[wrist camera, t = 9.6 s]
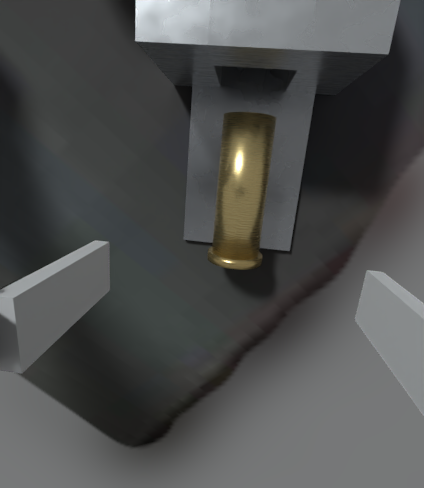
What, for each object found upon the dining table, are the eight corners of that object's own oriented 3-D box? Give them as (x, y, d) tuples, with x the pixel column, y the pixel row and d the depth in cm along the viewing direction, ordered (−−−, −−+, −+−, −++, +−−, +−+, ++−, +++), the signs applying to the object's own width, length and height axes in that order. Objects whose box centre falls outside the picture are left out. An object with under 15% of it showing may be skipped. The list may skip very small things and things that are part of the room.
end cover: (210, 249, 33) (204, 265, 28) (221, 119, 29) (216, 108, 24) (259, 254, 33) (263, 272, 27) (277, 123, 29) (285, 113, 23)
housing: (167, 236, 34) (133, 269, 23) (180, -61, 26) (137, -212, 16) (306, 251, 33) (336, 292, 22) (362, -57, 25) (447, -219, 14)
